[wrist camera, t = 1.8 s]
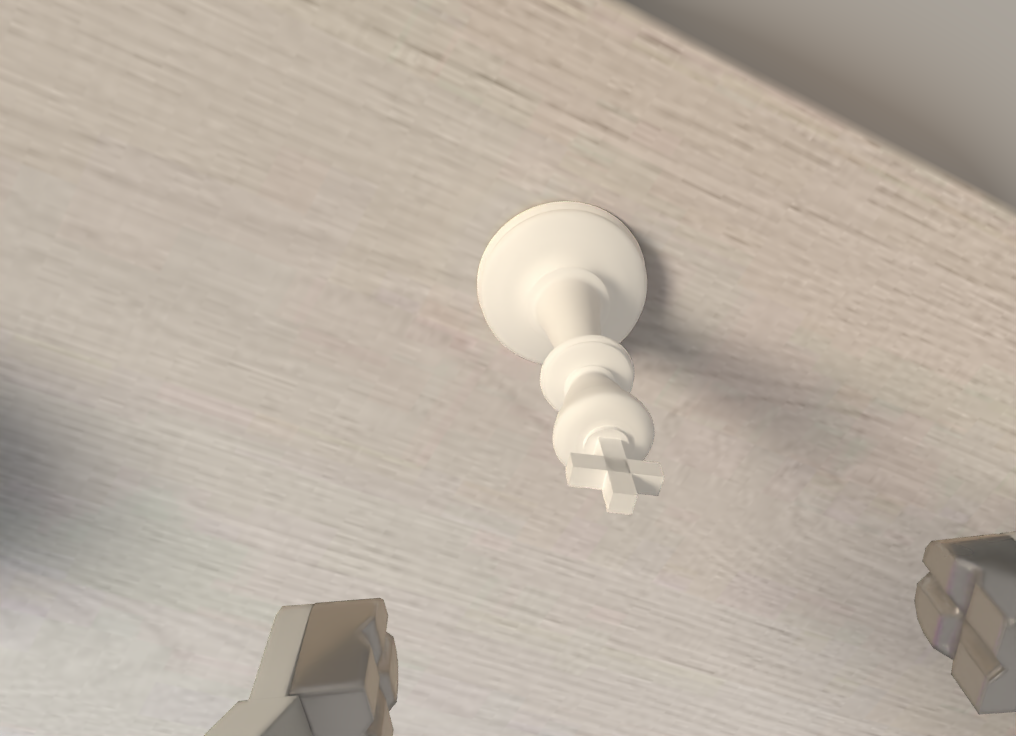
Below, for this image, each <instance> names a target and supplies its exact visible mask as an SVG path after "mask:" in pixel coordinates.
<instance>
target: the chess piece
mask: <svg viewBox="0 0 1016 736" xmlns="http://www.w3.org/2000/svg"><path fill="white" fill-rule="evenodd" d="M477 292H478V299H479V303H480V306H481V309H482V312H483V314H484V317H485V320H486V322H487V324H488V326H489V328H490V329H491V331H492V332H493V334H494V335H495V336H496V338H497V339H498V340H499V341H500V342H501V343H502V344H503V345H504V346H505V347H506V348H508V349H509V350H510V351H512V352H513V353H515V354H516V355H518V356H520V357H522V358H524V359H526V360H529V361H531V362H535V363H538V364H543V365H542V368H541V373H540V385H541V390H542V392H543V395H544V397H545V398H546V400H547V401H548V402H549V403H550V405H551V406H552V407H553V408H554V409H555V410H556V411H558V412H559V413H558V416H557V418H556V421H555V424H554V429H553V446H554V450H555V452H556V455H557V457H558V458H559V460H560V461H561V462H562V464H563V465H564V466H565V467H566V471H565V472H566V477H567V483H568V486H572V487H581V488H591V489H600V490H602V492H603V496H604V500H605V505H606V509H607V512H608V513H617V514H627V515H632V512H633V509H634V506H635V503H636V500H637V497H638V494H645V495H654V496H658V495H659V492H660V489H661V486H662V483H663V480H664V474H663V471H662V469H661V466H660V463H658V462H649V461H643V460H644V459H645V457H646V456H647V454H648V453H649V451H650V449H651V447H652V444H653V440H654V424H653V420H652V417H651V415H650V413H649V412H648V410H647V409H646V407H645V406H644V405H643V404H642V403H641V402H640V401H639V400H638V399H637V398H635V397H634V396H633V395H632V394H630V392H631V389H632V386H633V381H634V365H633V362H632V359H631V357H630V355H629V353H628V352H627V351H626V349H625V348H624V347H623V346H622V345H620V344H619V343H620V342H621V341H622V340H623V339H624V338H625V337H626V336H627V335H628V334H629V333H630V332H631V330H632V329H633V327H634V326H635V324H636V323H637V321H638V319H639V317H640V315H641V313H642V310H643V307H644V304H645V300H646V294H647V273H646V268H645V262H644V257H643V254H642V251H641V249H640V246H639V244H638V242H637V240H636V239H635V237H634V236H633V234H632V233H631V231H630V230H629V229H628V228H627V227H626V226H625V225H624V224H623V223H622V222H621V221H620V220H619V219H618V218H616V217H615V216H613V215H612V214H610V213H609V212H607V211H605V210H603V209H601V208H598V207H596V206H593V205H590V204H586V203H581V202H572V201H559V202H551V203H546V204H542V205H538V206H535V207H533V208H530V209H528V210H526V211H524V212H522V213H520V214H518V215H517V216H515V217H514V218H512V219H511V220H510V221H508V222H507V223H506V224H505V225H504V226H503V227H502V228H501V229H500V230H499V231H498V232H497V233H496V234H495V236H494V237H493V238H492V240H491V241H490V243H489V244H488V246H487V248H486V250H485V252H484V254H483V256H482V259H481V262H480V266H479V270H478V277H477Z"/></svg>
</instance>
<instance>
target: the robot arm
mask: <svg viewBox="0 0 1016 736" xmlns="http://www.w3.org/2000/svg"><path fill="white" fill-rule="evenodd" d="M922 562H923V563H924V564H925V566H926V567H927V568H928V570H929V571H930V572H929V573H928V574H927V575H926V576H925V577H924V578H923V579H921V580H920V581H919V582H918V583H917V588H916V594H915V599H914V602H915V608H916V613H917V619H918V621H919V624H920V626H921V628H922V631H923V633H924V635H925V636H926V638H927V639H928V641H929V642H930V644H931V645H932V647H933V648H934V649H936V650H937V651H939V652H941V653H942V654H944V655H946V656H947V657H949V658H951V659H952V660H953V663H952V670H951V675H952V676H953V678H954V679H955V680H956V682H957V683H958V685H959V686H960V688H961V689H962V691H963V692H964V693H965V695H966V696H967V698H968V699H969V701H970V702H971V704H972V705H973V706H974V708H975V709H976V711H977V712H978V714H990V713H1004V712H1016V531H1014V532H1006V533H1000V534H988V535H980V536H971V537H962V538H953V539H944V540H935V541H931V542H930V543H929V545H928V546H927V547H926V548H925V552H924V556H923V560H922ZM387 621H388V613H387V610H386V606H385V603H384V600H383V599H381V598H373V599H360V600H347V601H334V602H321V603H315V604H305V605H291V606H282V608H281V609H280V610H279V611H278V613H277V614H276V616H275V619H274V622H273V625H272V628H271V632H270V635H269V638H268V641H267V644H266V647H265V650H264V653H263V657H262V660H261V663H260V666H259V669H258V672H257V675H256V679H255V682H254V685H253V688H252V691H251V694H250V697H249V700H244V701H238V702H237V703H236V704H235V705H234V706H233V707H232V708H231V709H230V710H229V711H228V712H227V713H226V714H225V715H224V716H223V717H222V718H221V719H220V720H219V721H218V722H217V723H216V724H215V725H214V726H213V727H212V728H211V729H210V730H209V731H208V732H207V733H206V734H205V735H204V736H393V726H392V722H391V718H390V714H389V711H390V709H391V708H392V707H393V706H394V705H395V703H396V702H397V692H398V659H397V651H396V646H395V642H394V637H393V636H391V635H390V634H389V633H387V632H386V629H387Z"/></svg>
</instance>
